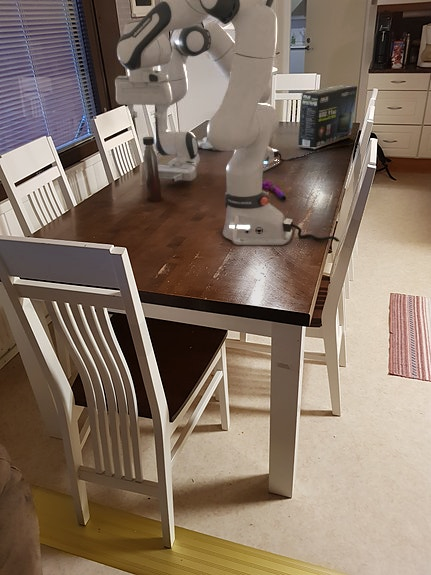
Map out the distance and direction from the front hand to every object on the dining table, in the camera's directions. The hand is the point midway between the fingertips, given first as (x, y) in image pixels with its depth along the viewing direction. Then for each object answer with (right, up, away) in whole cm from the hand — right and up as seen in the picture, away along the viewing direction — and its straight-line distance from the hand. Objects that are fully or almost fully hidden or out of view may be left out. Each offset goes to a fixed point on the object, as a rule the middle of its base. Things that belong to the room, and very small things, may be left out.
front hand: (145, 117), depth 164 cm
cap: (0, -6, +4) cm, 7 cm away
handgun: (+47, -23, +18) cm, 55 cm away
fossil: (+22, +14, +81) cm, 86 cm away
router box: (+84, +16, +80) cm, 117 cm away
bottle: (+1, -26, +16) cm, 31 cm away
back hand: (+4, -17, +20) cm, 26 cm away
